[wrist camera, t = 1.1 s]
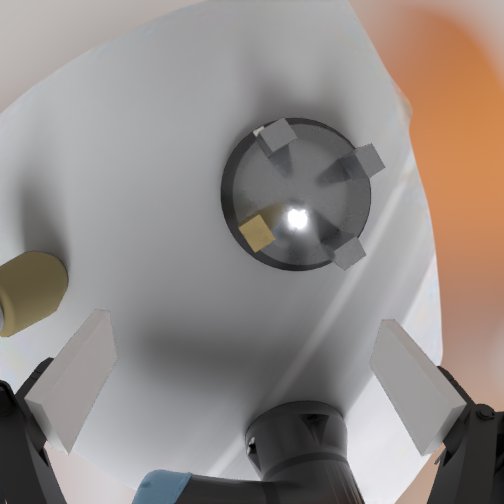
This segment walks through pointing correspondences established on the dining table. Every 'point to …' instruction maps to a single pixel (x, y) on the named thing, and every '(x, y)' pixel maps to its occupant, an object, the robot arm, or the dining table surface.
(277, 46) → the dining table surface
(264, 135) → the four-lug metal disc
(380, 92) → the dining table surface
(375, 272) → the dining table surface
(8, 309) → the squeeze bottle
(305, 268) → the mounting flange
